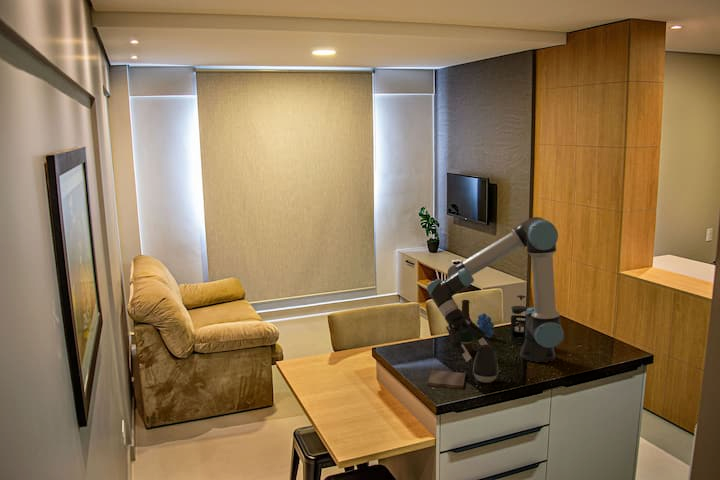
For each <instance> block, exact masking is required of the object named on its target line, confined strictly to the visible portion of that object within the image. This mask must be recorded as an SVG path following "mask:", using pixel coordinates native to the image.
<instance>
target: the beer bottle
mask: <svg viewBox="0 0 720 480" xmlns="http://www.w3.org/2000/svg"><path fill="white" fill-rule="evenodd" d="M470 303H471V302H470V300H469V299H462V300H461V312H462V313H463V315H464V317H463V318H464V320H467V319H468V318H470ZM470 319H471V318H470ZM471 321H472V322H473V320H472V319H471ZM467 328H468V327H467ZM473 341H474V336H473V335H471V334H469V333H468V332H461V345H462V344H463V345H464V347H465V348H466V350H467V351H468V353H470V352H472V351H473V348H474V345H473V343H474V342H473ZM456 350H457V351H458V352H459V350H458V348H456Z"/></svg>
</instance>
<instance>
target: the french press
mask: <svg viewBox="0 0 720 480" xmlns="http://www.w3.org/2000/svg"><path fill="white" fill-rule="evenodd" d="M516 297H517V298H519V300H520V301H523V299H525V298H526V296H525V295H521V294H519V295H516ZM528 308H530V307H528V306H526V305H525V306H524V305H522V304H520V305H514V306H511V313H512V315H511V316H510V333H509V340H510V341H512V342H516V343H524V341H525V328H526V315H522V313H524V312H526V310H527V309H528ZM523 319H524V320H523ZM517 324H523V326H521V325H519V326H518V325H517ZM518 337H522V338H518ZM510 341H509V342H510Z"/></svg>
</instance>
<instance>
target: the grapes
mask: <svg viewBox="0 0 720 480" xmlns="http://www.w3.org/2000/svg"><path fill="white" fill-rule="evenodd" d="M476 324H477V326H478V327H479V328H480V329H481V330H482V331H483V332H484V333H485V334H486V335H485V336H484V338H488V339H491V338H492V335H494V334H495V330H494V327H495V325H494V323H493V322H492V318H491V317H490V316H489V315H487V314H486V313H484V312H483V313H482V314H479V315H478V316H477V320H476Z"/></svg>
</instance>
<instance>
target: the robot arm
mask: <svg viewBox="0 0 720 480" xmlns="http://www.w3.org/2000/svg"><path fill="white" fill-rule="evenodd" d="M558 239H559V233H558V230H557V228H556V226H555V225H554V224H553V223H552V222H551V221H550V220H549V221H548V220H546V219H544V218H542V217H539V216H535V217H534V216H533V217H530V218H528V219H526V220H525V221H523V222H521V223H520V224H517V226H515V227H513V228H512V229H511V232H510V233H508V234H507V235H504V236H503V237H501V238H500V239H498V240H496V241H494V242H493V243H491V244H489V245H488V246H486V247H485V248H482V249H480V251H478V252H476V253H475V254H473V255H471V256H469V257H468V258H466V259H464V260H463V261H461V262H459V263H458V264H453V265H451V266H450V267H449V268H447V278H446V279H444V280H441V279H440V278H437V279H434V280H432V281H431V282H429V283H428V284H427V285H426V290H427V293H428V294H429V296H430V298H431V299H432V300H433V302H434V304H435V306H436V307H437V308H438V310H439V312H440V313H441V315H442V316H443V318H444V320H445V321H446V323H447V326H446V327H445V328H446V330H447V332H448V337H449V340H450V345H451V347H452V348H454V349H456V348H458V350H459V351H458V352H459V353H460V354H461V356H462V357H463V358H464V360H465V362H466V363H467V362H469V361H470V360H471V359H472V356H471V354H470V352H468V351H467V350H466V348H465V347H464V345H463V344H462V345H461V332H468V333H469V334H471V335H473V338H476V339H477V340H478V344H479V345H480V347H481V346H482V345H484V344H487V345H489V343H488V341H487V340H486V339H485V337H484V336H485V335H486V334H485V333H484V332H483V331H482V330H481V329H480V328H479V325H476V324H475V322H473V320H472V319H471V318H468V319H467V320H464V318H463V317H464V315H463V313H462V312H461V311H462V309H460V308H459V305H458V304H457V302H456V301H455V299H454V298H453V296H455V295H456V294H458V293H459V292H461V291H463V290H464V289H466V288H467V287H469V286H470V285H472V284H473V283H474V281H475V279H474V277H473V275H474V276H475V274H477V273H479V272H481V271H483V270H484V269H486V268H488V267H489V266H491V265H493V264H494V263H496V262H497V261H499V260H501V259H502V258H505V257H506V256H508V255H509V254H511V253H513V252H514V251H516V250H519V248H523V249H525V248H526V249H527V250H526V251H527V252H526V253H528V254H529V256H530V257H531V270H532V271H531V272H532V287H533V289H532V290H533V301H534V302H533V303H534V306H532V307H529V308H528V309H527V310H526V311H525V316H526V319H525V320H526V328H525V341H524V343H523V344H522V346H521V349H520V353H519V354H520V358H521V357H522V358H521V359H523V358H524V359H523V360H525V359H526V360H525V361H527V360H530V361H529V362H531V361H538V362H545V361H551V360H553V359H555V360H556V352H555V349H554V348H555V347H557V346H558V345H559V344H560V343H561V342H562V341H563V339H564V335H565V334H564V329H563V328H562V327H563V326H561V314H560V312H559V311H557V309H556V305H557V304H556V293H555V292H556V291H555V276H554V274H555V273H554V257H553V256H554V254H555V253H556V252H557V242H558ZM471 320H472V321H471ZM467 327H468V328H467ZM456 350H457V349H456Z"/></svg>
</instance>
